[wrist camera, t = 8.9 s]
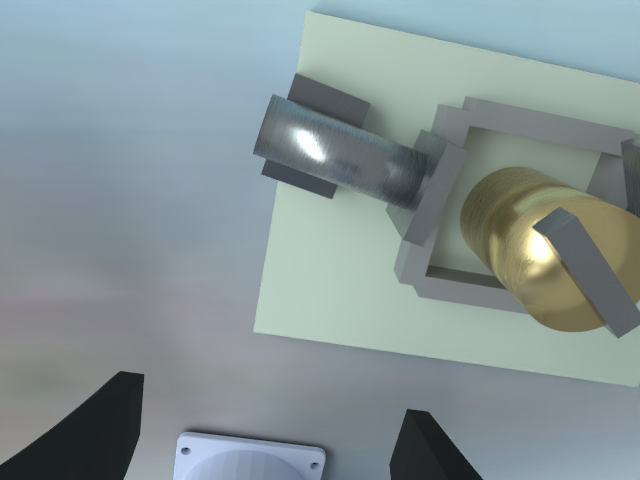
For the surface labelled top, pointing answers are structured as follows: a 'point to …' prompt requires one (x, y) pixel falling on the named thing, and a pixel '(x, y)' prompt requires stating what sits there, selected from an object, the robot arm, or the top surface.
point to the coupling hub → (556, 250)
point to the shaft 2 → (631, 172)
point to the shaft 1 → (356, 156)
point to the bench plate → (445, 237)
